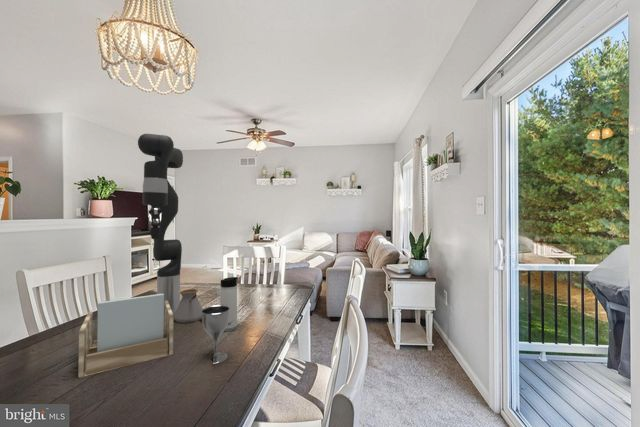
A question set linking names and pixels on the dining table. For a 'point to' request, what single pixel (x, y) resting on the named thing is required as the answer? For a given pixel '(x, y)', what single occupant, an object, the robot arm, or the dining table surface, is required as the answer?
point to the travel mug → (229, 300)
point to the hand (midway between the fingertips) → (154, 237)
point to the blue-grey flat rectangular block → (130, 321)
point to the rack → (121, 349)
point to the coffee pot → (188, 307)
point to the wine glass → (216, 327)
